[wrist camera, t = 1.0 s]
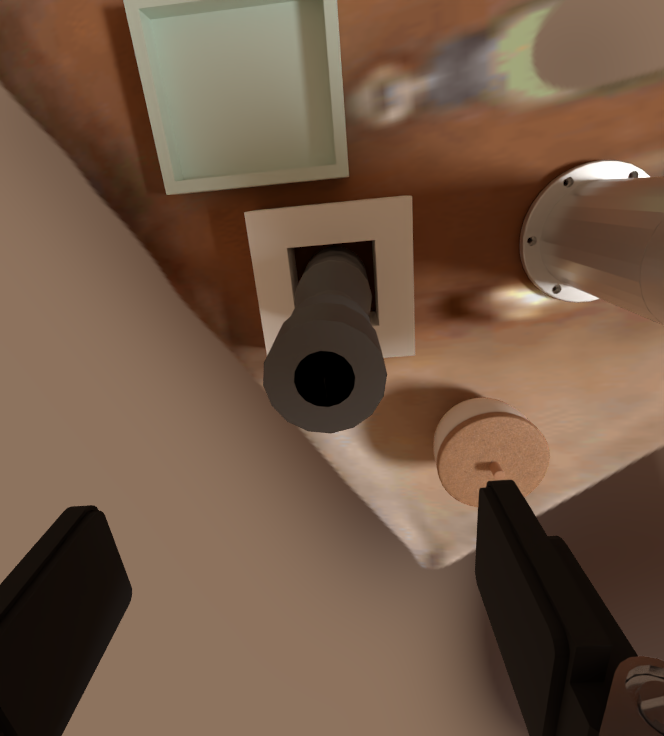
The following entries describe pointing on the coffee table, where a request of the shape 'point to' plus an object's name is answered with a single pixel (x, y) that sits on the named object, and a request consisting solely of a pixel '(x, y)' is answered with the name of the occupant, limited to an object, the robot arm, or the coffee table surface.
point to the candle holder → (327, 348)
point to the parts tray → (241, 91)
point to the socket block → (331, 226)
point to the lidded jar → (488, 449)
